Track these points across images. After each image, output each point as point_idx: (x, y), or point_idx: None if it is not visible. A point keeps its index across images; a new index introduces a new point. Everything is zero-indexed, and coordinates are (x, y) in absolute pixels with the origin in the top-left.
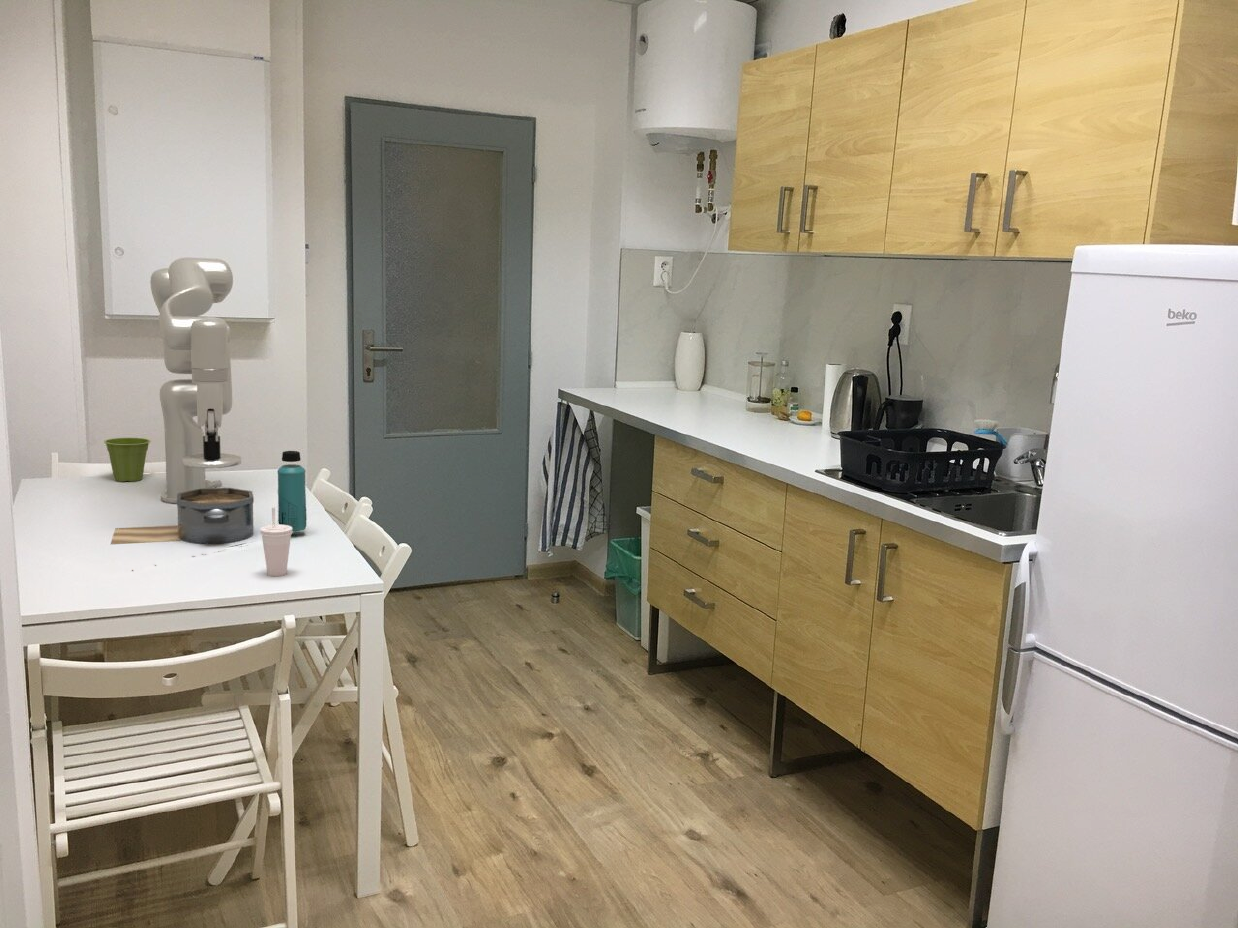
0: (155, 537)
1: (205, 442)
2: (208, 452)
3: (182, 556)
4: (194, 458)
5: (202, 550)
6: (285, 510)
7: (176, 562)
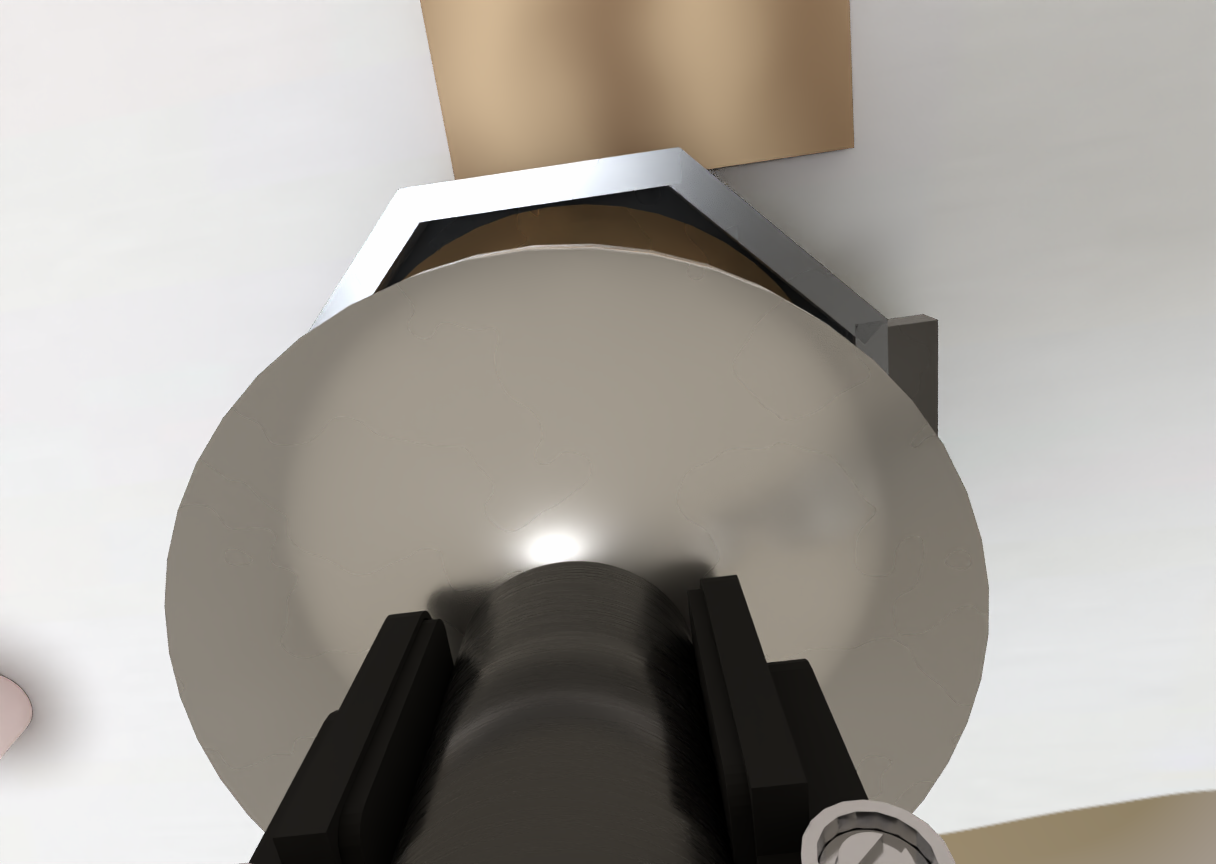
0: (541, 26)
1: (292, 846)
2: (313, 743)
3: (225, 255)
4: (557, 438)
5: None
6: None
7: (103, 242)
